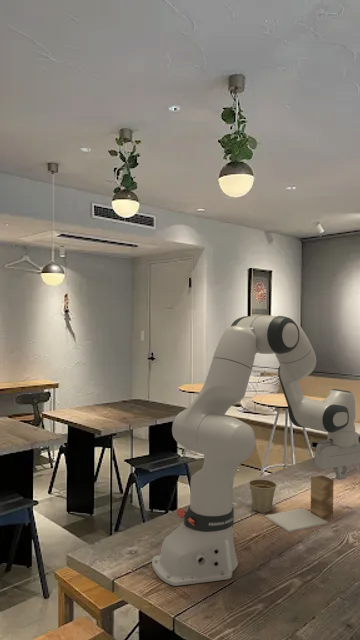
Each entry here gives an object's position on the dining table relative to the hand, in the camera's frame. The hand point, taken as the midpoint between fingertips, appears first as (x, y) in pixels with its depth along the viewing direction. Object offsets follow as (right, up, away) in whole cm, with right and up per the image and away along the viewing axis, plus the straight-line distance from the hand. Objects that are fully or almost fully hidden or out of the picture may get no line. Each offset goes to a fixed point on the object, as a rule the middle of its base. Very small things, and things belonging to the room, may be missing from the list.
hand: (341, 478), depth 162 cm
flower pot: (-26, -11, +1) cm, 28 cm away
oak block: (-7, -11, -4) cm, 14 cm away
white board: (-17, -11, -8) cm, 22 cm away
